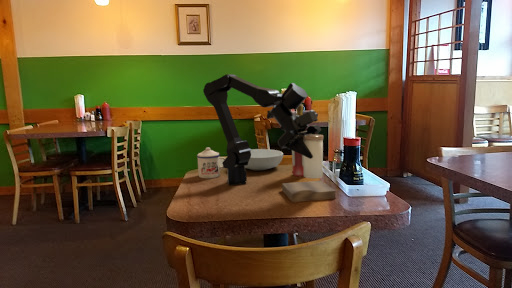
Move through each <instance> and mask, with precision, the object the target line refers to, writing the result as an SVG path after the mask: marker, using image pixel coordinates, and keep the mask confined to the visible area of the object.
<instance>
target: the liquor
mask: <svg viewBox="0 0 512 288" xmlns="http://www.w3.org/2000/svg"><path fill="white" fill-rule="evenodd" d="M295 111H296V115H299V116H301V115H303V114H304V113H303V112H304V104H301V105H300V106H299V107H298V108H297V109H296V110H295ZM308 127H309V126H308ZM308 127H307V128H308ZM307 128H306V129H307ZM306 129H305V131H306ZM291 158H292V159H291V160H292V171H291V174H292V175H293V176H295V177H297V178H303V177H304V166H303V155H302V154H299V153H297V152H295V151H293V150H291ZM304 178H305V177H304Z"/></svg>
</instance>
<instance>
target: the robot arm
mask: <svg viewBox="0 0 512 288" xmlns="http://www.w3.org/2000/svg"><path fill="white" fill-rule="evenodd" d="M232 89H234V90H236V91H237V92H240V93H242V94H243V95H246V96H247V97H250V98H251V99H253V101H254V102H255V103H256V104H257V105H259V106H260V107H262V108H271V110H267V111H266V112H267V114H266V119H267V120H269V119H275V121H276V122H277V124H278V125H279V126H280V128H279V129H280V131H284V133H283V134H282V135H281V136H280V137H279V138H278V139H277V146H279V148H280V149H281V150H282V149H287V150H291V151H292V150H293V151H295V152H297V153H299V154H302V155H304V156H306V157H308V158H310V159H311V158H312V157H313V155H312V154H311V152H310V151H309V149H308V148H307V146H306V145H305V143H304V141H303V135H307V134H319V133H320V132H321V131H322V128H321V127H320V125H319V124H313V125H310V124H312V123H314V122H317V121H319V119H318V116H319V114H318V113H317V112H316V110H313V109H310V110H309V111H307V112H305V113H303V115H301V116H299V115H297V114H294V112H292V110H295V111H296V109H297V108H298V107H299V106H300V105H302V103H304V101H305V100H306V99H307V98H308V93H307V92H306V90H305V89H304V88H302V87H301V86H299V85H296V83H294V82H291V83H289V84H288V86H287V88H286V89H285V90H284V92H283V93H280V91H279V90H278V89H275V88H269V87H263V86H258V85H256V84H254V83H252V82H250V81H248V80H245V79H243V78H241V77H239V76H237V75H236V74H233V73H231V74H228V73H227V74H224V75H222V76H221V77H219V78H216V79H215V80H213V81H211V82H209V81H208V82H207V83H206V84H205V85H204V86H203V89H202V90H203V91H202V92H203V95H204V96H205V99H206V100H207V102H208V103H209V104H210V105H212V106H213V108H214V110H215V112H216V115H217V117H218V121H219V123H220V126H221V129H222V131H223V134H224V136H225V140H226V143H227V144H226V150H225V151H226V154H227V156H226V157H225V160H224V159H223V161H222V167H224V169H226V170H227V175H226V176H227V179H226V182H227V185H228V186H235V185H236V186H237V185H238V186H239V185H246V184H247V181H248V178H247V177H248V176H247V170H246V168H245V167H244V166H245V165H248V162H249V159H250V157H251V152H250V151H251V147H250V145H249V142H248V140H243V139H242V138H241V137H240V134H239V131H238V129H237V127H236V124H235V121H234V118H233V116H232V113H231V110H230V108H229V105H228V99H229V98H228V97H229V95H228V92H229V91H230V90H232ZM307 127H308V128H307ZM306 128H307V129H306ZM305 129H306V131H305Z"/></svg>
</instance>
